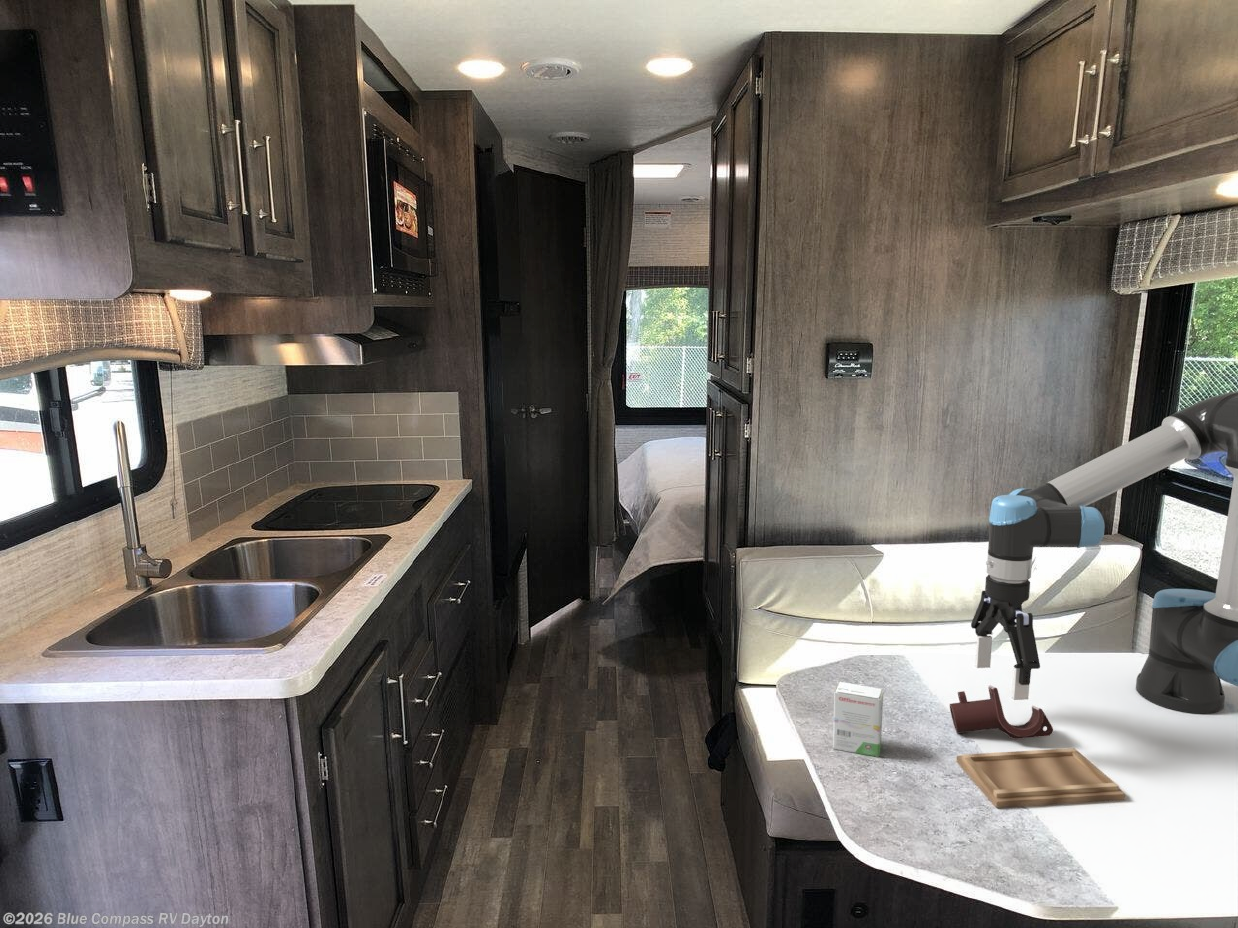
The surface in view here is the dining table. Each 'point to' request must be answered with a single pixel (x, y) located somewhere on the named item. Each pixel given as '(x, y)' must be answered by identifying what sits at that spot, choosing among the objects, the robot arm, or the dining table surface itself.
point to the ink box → (857, 719)
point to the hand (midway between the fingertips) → (1000, 682)
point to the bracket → (995, 717)
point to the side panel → (1039, 778)
